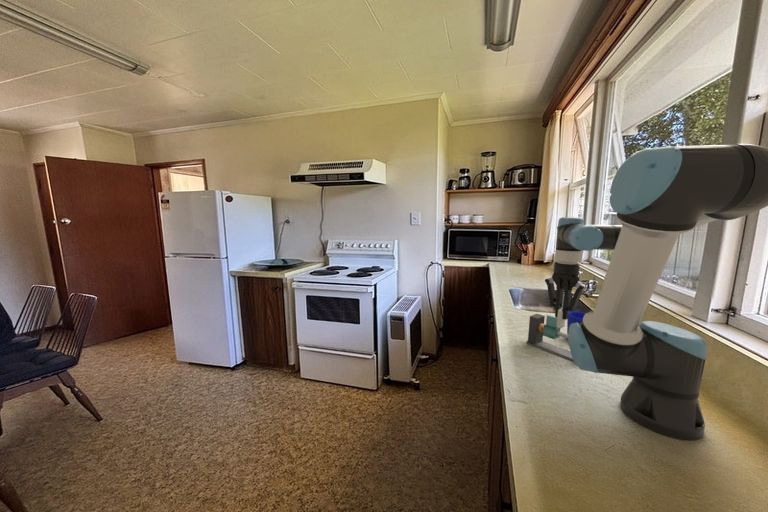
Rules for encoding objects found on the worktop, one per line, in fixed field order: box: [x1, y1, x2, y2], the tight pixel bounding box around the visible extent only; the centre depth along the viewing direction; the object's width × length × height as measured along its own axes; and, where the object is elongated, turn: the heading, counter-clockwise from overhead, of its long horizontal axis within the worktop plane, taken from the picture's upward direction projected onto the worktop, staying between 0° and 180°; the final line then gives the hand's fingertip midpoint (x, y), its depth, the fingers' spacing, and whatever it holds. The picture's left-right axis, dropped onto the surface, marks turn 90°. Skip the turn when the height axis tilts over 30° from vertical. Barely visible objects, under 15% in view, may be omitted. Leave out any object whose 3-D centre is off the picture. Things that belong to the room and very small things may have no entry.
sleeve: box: [543, 314, 561, 340], centre depth 107 cm, size 4×4×8 cm
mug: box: [566, 310, 587, 334], centre depth 117 cm, size 8×12×10 cm
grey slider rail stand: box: [525, 313, 574, 362], centre depth 106 cm, size 19×5×11 cm, turn 34°
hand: (560, 326), depth 105 cm, fingers closed
